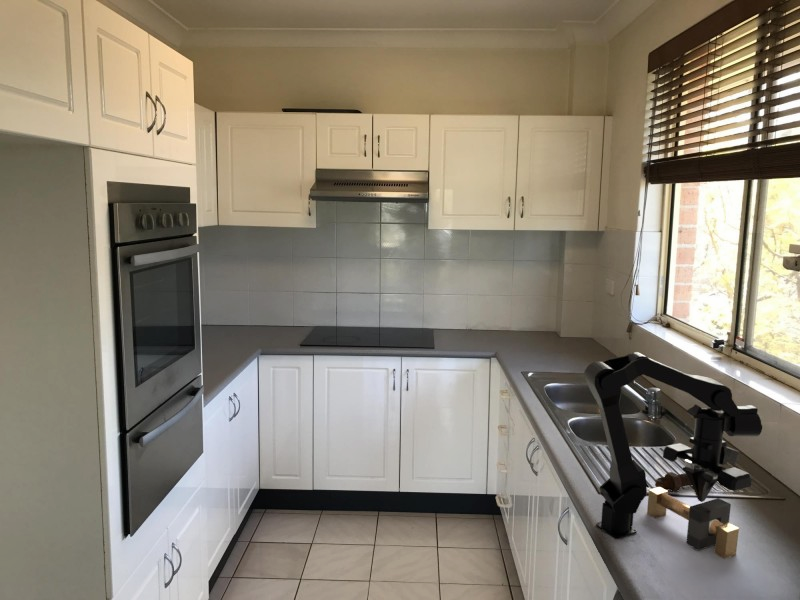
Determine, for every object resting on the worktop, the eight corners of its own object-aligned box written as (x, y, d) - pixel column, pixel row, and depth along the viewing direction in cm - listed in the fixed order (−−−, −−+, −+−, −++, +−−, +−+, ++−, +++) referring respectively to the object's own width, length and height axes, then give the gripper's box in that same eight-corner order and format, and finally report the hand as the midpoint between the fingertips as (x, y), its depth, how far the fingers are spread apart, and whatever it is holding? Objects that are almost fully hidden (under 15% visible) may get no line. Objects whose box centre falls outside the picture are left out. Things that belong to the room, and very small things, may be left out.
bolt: (655, 496, 157) (702, 488, 161) (667, 495, 153) (716, 486, 157) (648, 473, 159) (696, 465, 163) (660, 472, 155) (709, 463, 159)
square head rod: (735, 554, 128) (739, 527, 127) (724, 558, 127) (727, 531, 126) (657, 510, 146) (659, 486, 145) (646, 513, 145) (649, 489, 144)
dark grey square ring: (726, 540, 133) (730, 504, 132) (698, 550, 129) (702, 513, 128) (714, 533, 136) (718, 498, 135) (686, 543, 132) (689, 506, 131)
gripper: (772, 445, 130) (763, 513, 132) (697, 417, 146) (691, 477, 149) (737, 453, 125) (729, 523, 128) (664, 423, 142) (658, 485, 144)
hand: (701, 500), depth 137 cm, fingers closed
